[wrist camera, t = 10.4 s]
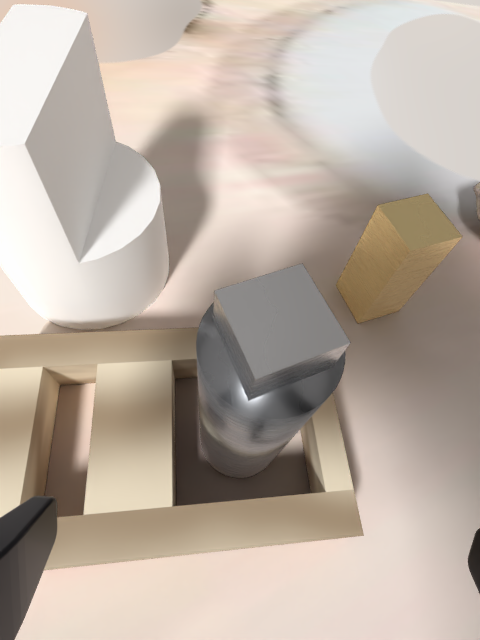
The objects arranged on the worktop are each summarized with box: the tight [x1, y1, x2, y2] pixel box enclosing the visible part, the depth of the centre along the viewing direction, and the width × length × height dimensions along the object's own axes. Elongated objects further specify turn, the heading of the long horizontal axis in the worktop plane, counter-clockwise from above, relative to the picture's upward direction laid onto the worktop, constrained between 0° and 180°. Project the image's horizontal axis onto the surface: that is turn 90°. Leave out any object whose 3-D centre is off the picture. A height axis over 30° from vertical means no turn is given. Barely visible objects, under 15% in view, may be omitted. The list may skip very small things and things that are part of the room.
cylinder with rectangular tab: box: [0, 4, 169, 330], centre depth 19 cm, size 9×9×12 cm
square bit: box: [336, 194, 462, 324], centre depth 22 cm, size 3×3×7 cm
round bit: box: [196, 264, 351, 478], centre depth 14 cm, size 4×4×12 cm
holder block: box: [0, 328, 364, 570], centre depth 18 cm, size 10×16×2 cm, turn 95°
